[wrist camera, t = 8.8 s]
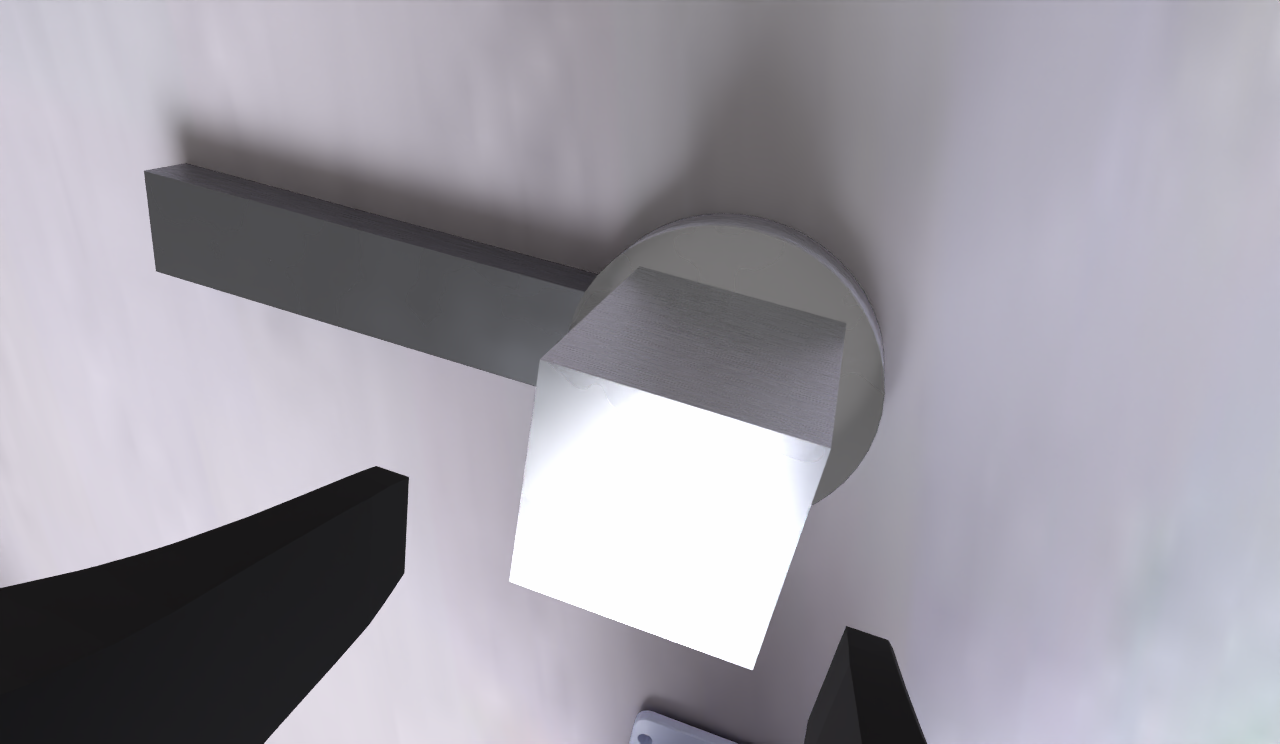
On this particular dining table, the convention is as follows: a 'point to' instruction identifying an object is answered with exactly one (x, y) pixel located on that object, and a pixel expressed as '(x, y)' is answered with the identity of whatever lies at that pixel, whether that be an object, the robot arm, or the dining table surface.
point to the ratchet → (493, 281)
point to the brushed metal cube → (677, 459)
